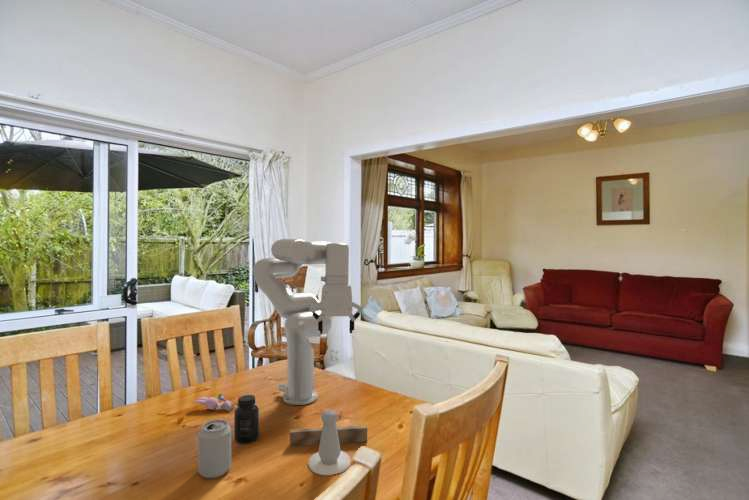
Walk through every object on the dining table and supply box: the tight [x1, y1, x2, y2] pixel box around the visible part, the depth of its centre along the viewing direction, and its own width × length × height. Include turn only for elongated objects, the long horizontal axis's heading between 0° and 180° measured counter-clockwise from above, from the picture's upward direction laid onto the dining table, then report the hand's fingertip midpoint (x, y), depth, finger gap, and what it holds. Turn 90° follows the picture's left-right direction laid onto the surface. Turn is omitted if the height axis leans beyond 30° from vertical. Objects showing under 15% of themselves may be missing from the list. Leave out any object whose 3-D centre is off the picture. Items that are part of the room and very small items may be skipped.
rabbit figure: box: [192, 393, 238, 412], centre depth 130 cm, size 6×6×15 cm
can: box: [198, 418, 232, 479], centre depth 95 cm, size 8×8×12 cm
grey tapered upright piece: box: [318, 409, 341, 465], centre depth 100 cm, size 6×6×13 cm
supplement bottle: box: [233, 394, 260, 445], centre depth 111 cm, size 7×7×12 cm
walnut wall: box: [289, 425, 368, 447], centre depth 109 cm, size 22×2×4 cm, turn 98°
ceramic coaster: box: [308, 450, 352, 476], centre depth 100 cm, size 11×11×1 cm
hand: (336, 332), depth 124 cm, fingers open, 9 cm apart
